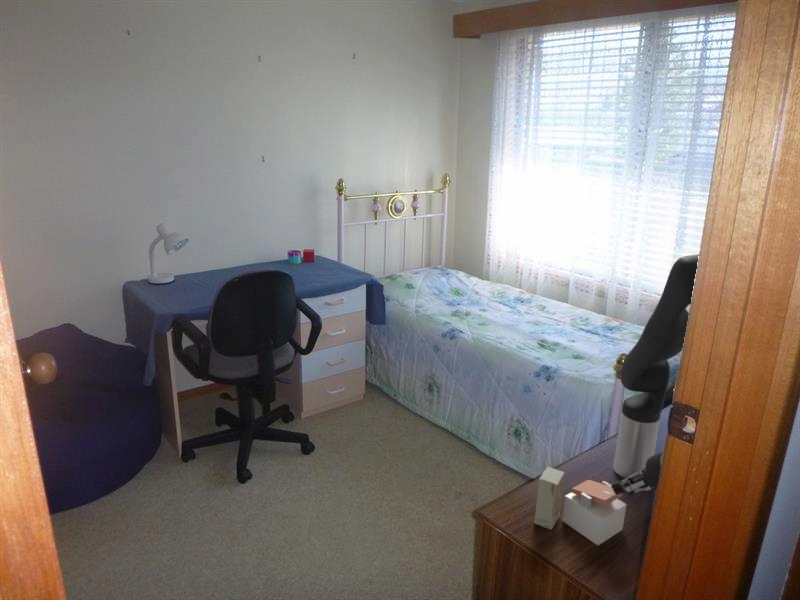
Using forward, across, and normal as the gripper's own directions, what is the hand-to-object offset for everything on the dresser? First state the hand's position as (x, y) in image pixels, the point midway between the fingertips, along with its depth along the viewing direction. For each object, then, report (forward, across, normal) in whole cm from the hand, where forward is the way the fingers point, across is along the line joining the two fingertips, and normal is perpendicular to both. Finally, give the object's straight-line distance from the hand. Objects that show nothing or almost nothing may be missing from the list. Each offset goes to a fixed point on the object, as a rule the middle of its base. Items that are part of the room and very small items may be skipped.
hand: (615, 489), depth 131 cm
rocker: (+6, 0, +1) cm, 6 cm away
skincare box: (+17, +7, +1) cm, 19 cm away
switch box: (+12, 0, +6) cm, 13 cm away
